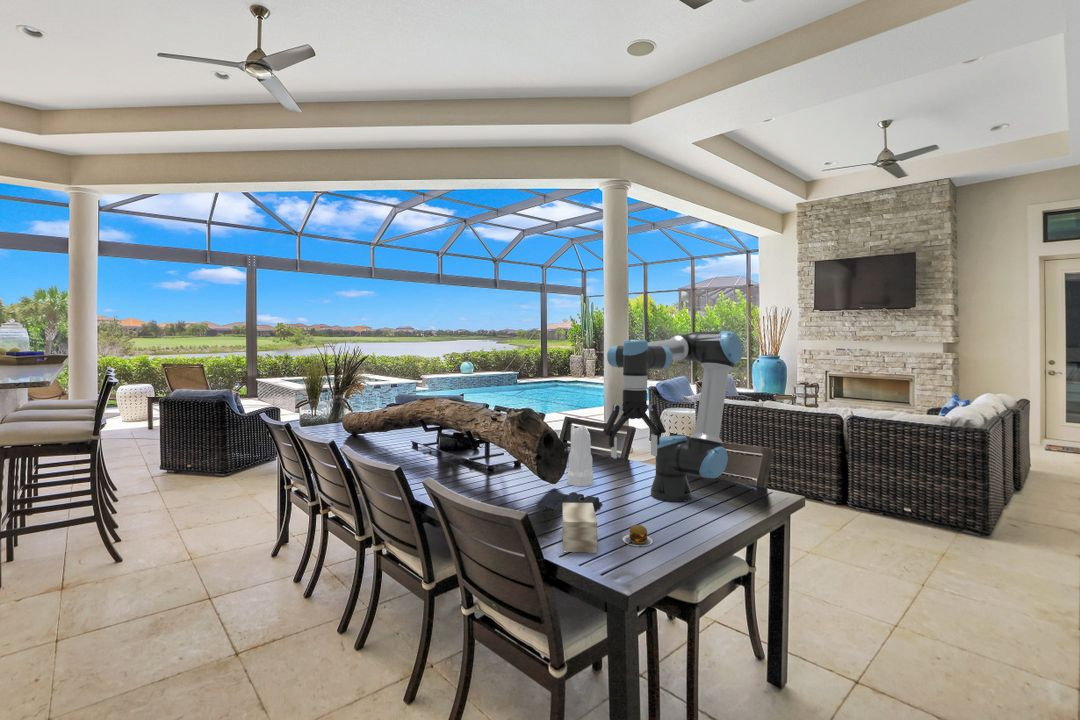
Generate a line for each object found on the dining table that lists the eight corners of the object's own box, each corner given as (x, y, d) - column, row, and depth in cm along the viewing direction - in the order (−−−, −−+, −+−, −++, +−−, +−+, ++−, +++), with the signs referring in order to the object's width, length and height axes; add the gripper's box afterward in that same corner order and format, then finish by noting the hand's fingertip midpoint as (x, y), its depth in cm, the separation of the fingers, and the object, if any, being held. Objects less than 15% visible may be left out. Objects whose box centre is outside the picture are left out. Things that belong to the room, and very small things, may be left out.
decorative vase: (568, 478, 220) (568, 421, 219) (593, 479, 218) (593, 422, 217) (566, 486, 209) (566, 425, 208) (592, 487, 207) (592, 426, 206)
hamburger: (613, 536, 157) (613, 518, 157) (651, 535, 158) (651, 517, 158) (622, 552, 145) (623, 533, 145) (663, 551, 146) (663, 532, 146)
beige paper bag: (592, 530, 160) (592, 502, 160) (597, 552, 143) (597, 522, 143) (562, 530, 160) (562, 502, 160) (563, 552, 143) (563, 521, 143)
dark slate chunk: (555, 496, 197) (555, 484, 197) (606, 506, 184) (606, 494, 184) (532, 507, 184) (532, 494, 184) (585, 519, 172) (585, 505, 172)
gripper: (665, 387, 165) (664, 451, 166) (593, 388, 159) (592, 455, 160) (676, 389, 158) (675, 457, 159) (601, 390, 152) (601, 461, 152)
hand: (634, 456), depth 159 cm, fingers open, 13 cm apart
